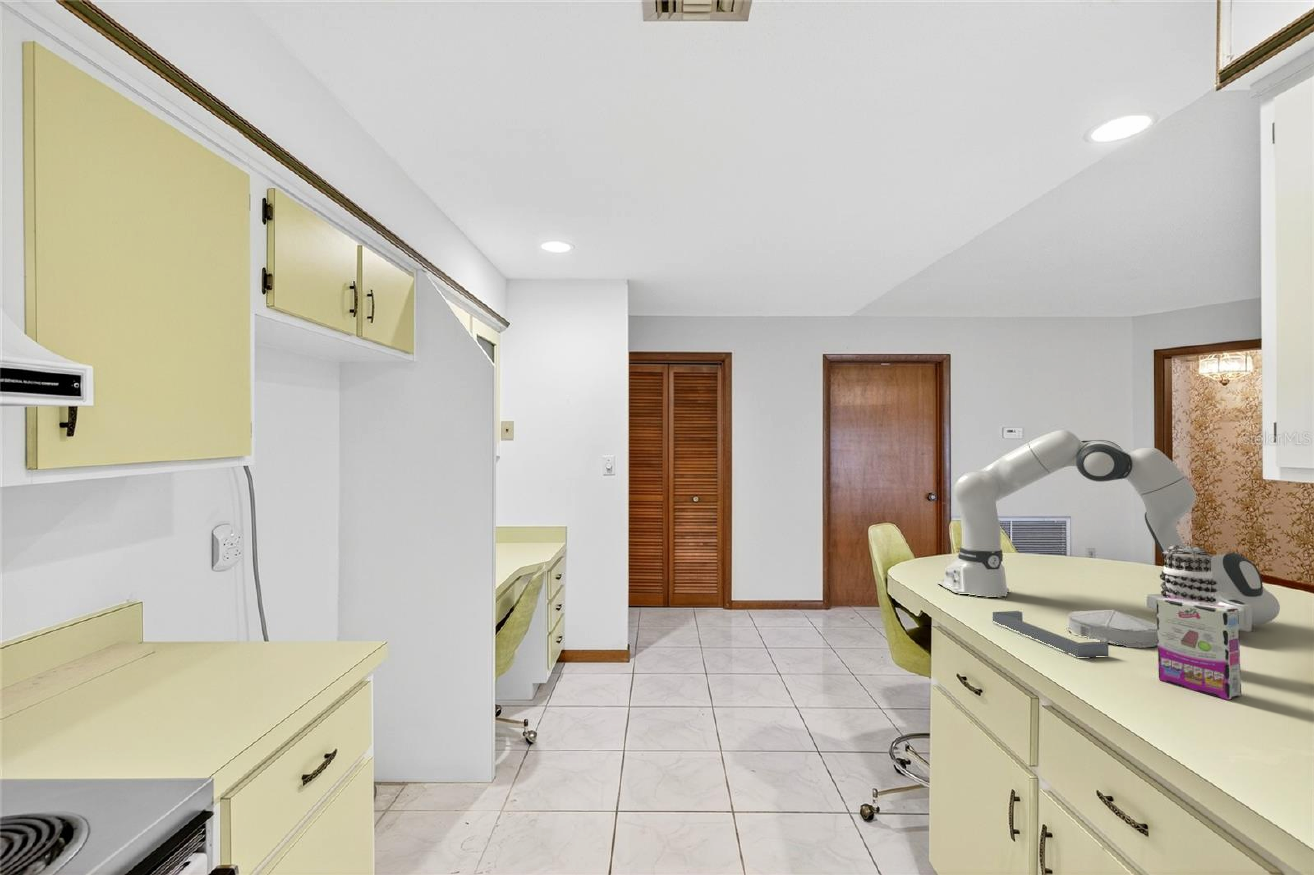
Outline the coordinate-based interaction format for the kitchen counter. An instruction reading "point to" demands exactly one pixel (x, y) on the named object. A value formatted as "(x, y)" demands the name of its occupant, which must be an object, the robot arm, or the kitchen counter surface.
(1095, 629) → the food container
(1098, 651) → the gray u-shaped pull
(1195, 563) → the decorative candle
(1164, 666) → the candy bar box
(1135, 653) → the kitchen counter surface
